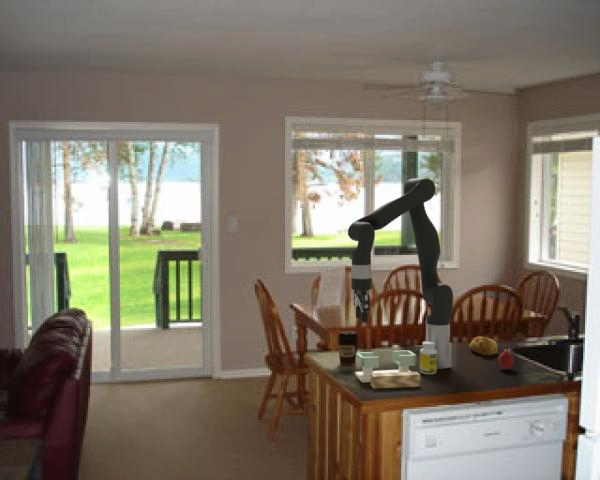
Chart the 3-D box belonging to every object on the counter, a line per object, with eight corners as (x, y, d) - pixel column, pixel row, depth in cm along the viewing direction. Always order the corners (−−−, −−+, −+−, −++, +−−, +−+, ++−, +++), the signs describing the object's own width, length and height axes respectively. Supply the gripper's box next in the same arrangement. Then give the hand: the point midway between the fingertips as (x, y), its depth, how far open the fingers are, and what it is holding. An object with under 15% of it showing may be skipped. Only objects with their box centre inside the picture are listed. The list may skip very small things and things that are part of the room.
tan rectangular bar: (416, 383, 235) (416, 371, 235) (420, 387, 231) (420, 374, 231) (370, 385, 233) (370, 373, 232) (373, 389, 229) (373, 376, 228)
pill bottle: (426, 375, 244) (427, 345, 244) (416, 371, 250) (416, 341, 249) (440, 373, 247) (440, 343, 247) (429, 369, 253) (430, 340, 252)
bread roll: (464, 351, 284) (464, 332, 283) (482, 348, 288) (482, 330, 287) (484, 357, 272) (484, 338, 271) (502, 355, 276) (502, 336, 275)
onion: (514, 368, 254) (514, 348, 253) (512, 372, 249) (513, 351, 248) (499, 367, 256) (499, 347, 256) (497, 370, 251) (497, 350, 250)
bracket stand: (407, 372, 249) (408, 349, 249) (417, 379, 240) (417, 355, 239) (354, 375, 246) (355, 352, 245) (362, 382, 236) (362, 358, 235)
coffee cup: (357, 367, 256) (357, 334, 256) (336, 366, 258) (336, 334, 257) (359, 361, 265) (359, 330, 264) (339, 360, 267) (339, 329, 266)
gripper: (376, 278, 232) (376, 323, 233) (366, 273, 246) (366, 316, 247) (356, 279, 231) (356, 324, 232) (347, 274, 245) (347, 317, 246)
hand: (361, 320), depth 239 cm, fingers open, 8 cm apart
